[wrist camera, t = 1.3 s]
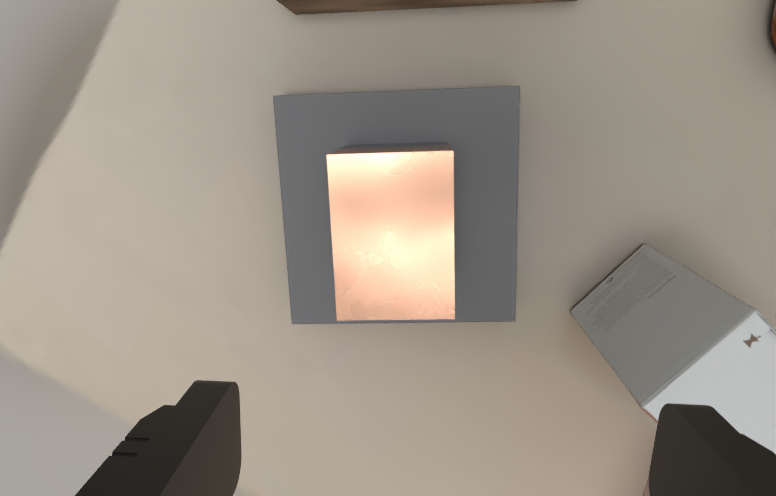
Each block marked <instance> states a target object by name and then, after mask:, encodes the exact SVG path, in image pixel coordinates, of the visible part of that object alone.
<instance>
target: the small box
mask: <svg viewBox="0 0 776 496" xmlns="http://www.w3.org/2000/svg"><path fill="white" fill-rule="evenodd" d="M571 314H572V316H573V317H574V318H575V320H576V321H577V322H578V324H579V325H580V327H581V328H582V329H583V330H584V332H585V333H586V334H587V336H588V337H589V339H590V340H591V341H592V343H593V344H594V345H595V346H596V348H597V349H598V351H599V352H600V353H601V355H602V356H603V357H604V359H605V360H606V361H607V362H608V364H609V365H610V366H611V368H612V369H613V370H614V372H615V373H616V374H617V376H618V377H619V378H620V380H621V381H622V382H623V384H624V385H625V386H626V388H627V389H628V390H629V392H630V393H631V394H632V396H633V397H634V399H635V400H636V401H637V403H638V404H639V406H640V407H641V408H642V409H643V410H644V411H645V412H646V413H647V414H648V415H649V416H651V417H652V418H653V419H654V420H655V421H656V422H657V423H658V418H659V414H660V411H661V409H662V407H663V406H664V405H665V404H667V403H672V404H694V405H709V406H711V407H713V408H714V409H715V410H716V411H717V412H718V413H719V414H720V415H721V416H722V417H723V418H725V419H726V420H727V421H728V422H729V423H730V424H731V425H732V426H733V427H734V428H735V429H736V430H737V431H738V432H739V433H740V434H744V435H745V436H747V437H749V438H751V439H752V440H754V441H756V442H757V443H759V444H761V445H762V446H764V447H766V448H767V449H769V450H771V451H773V452H774V453H775V454H776V331H775V330H774V329H773V328H772V326H771V325H770V324H769V323H768V322H767V321H766V320H765V319H764V317H763V316H762V315H761V314H760V313H759V312H758V311H757V310H756V309H754V308H753V307H751V306H749V305H747V304H746V303H744V302H742V301H740V300H739V299H737V298H736V297H734V296H732V295H731V294H729V293H727V292H725V291H724V290H722V289H720V288H719V287H717V286H716V285H714V284H712V283H711V282H709V281H708V280H706V279H704V278H703V277H701V276H699V275H698V274H696V273H695V272H693V271H691V270H690V269H688V268H686V267H685V266H683V265H681V264H679V263H678V262H676V261H674V260H673V259H671V258H669V257H668V256H666V255H664V254H663V253H661V252H659V251H657V250H656V249H654V248H652V247H650V246H648V245H647V244H643V245H642V246H641V247H640V248H639V249H638V250H637V251H636V252H635V253H634V254H632V255H631V256H630V257H629V258H628V259H627V260H626V261H625V262H624V263H623V264H621V265H620V266H619V267H618V268H617V269H616V270H615V271H614V272H613V273H612V274H611V275H609V276H608V277H607V278H606V279H605V280H604V281H603V282H602V283H601V284H600V285H598V286H597V287H596V288H595V289H594V290H593V291H592V292H591V293H590V294H589V295H587V296H586V297H585V298H584V299H583V300H582V301H581V302H580V303H579V304H578V305H576V306H575V307H574V308H573V309H572V310H571Z"/></svg>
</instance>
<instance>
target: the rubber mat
mask: <svg viewBox="0 0 776 496" xmlns="http://www.w3.org/2000/svg"><path fill="white" fill-rule="evenodd" d="M273 100H274V113H275V125H276V137H277V149H278V161H279V173H280V185H281V197H282V209H283V221H284V234H285V246H286V258H287V270H288V282H289V294H290V306H291V318H292V324H343V323H424V322H505V321H515V313H516V260H517V208H518V155H519V103H520V86H508V87H483V88H458V89H433V90H407V91H382V92H357V93H332V94H306V95H281V96H273ZM418 142H448V144H449V145H450V146H451V148H452V149H453V152H454V270H455V319H427V320H348V321H337V315H336V298H335V282H334V266H333V250H332V234H331V218H330V202H329V186H328V170H327V154H329V153H331V152H333V151H335V150H337V149H339V148H341V147H343V146H345V145H358V144H388V143H418Z"/></svg>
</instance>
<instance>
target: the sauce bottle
mask: <svg viewBox="0 0 776 496" xmlns="http://www.w3.org/2000/svg"><path fill="white" fill-rule="evenodd" d="M771 36H772V39H773V42H774V45H775V47H776V1H775V6H774V11H773V15H772V26H771Z"/></svg>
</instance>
